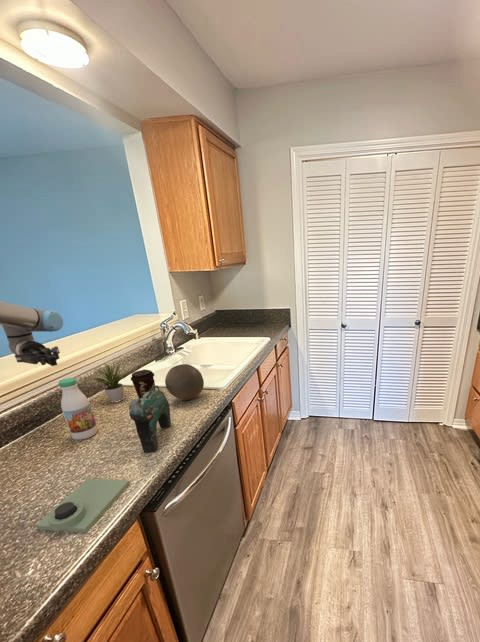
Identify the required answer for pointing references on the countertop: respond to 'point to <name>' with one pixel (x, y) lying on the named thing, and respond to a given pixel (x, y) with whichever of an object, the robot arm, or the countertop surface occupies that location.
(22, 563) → the countertop surface
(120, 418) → the countertop surface
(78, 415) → the milk bottle
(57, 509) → the tare button
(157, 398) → the teal painted figure
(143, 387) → the coffee cup
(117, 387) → the house plant
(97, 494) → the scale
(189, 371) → the dark brown ball
